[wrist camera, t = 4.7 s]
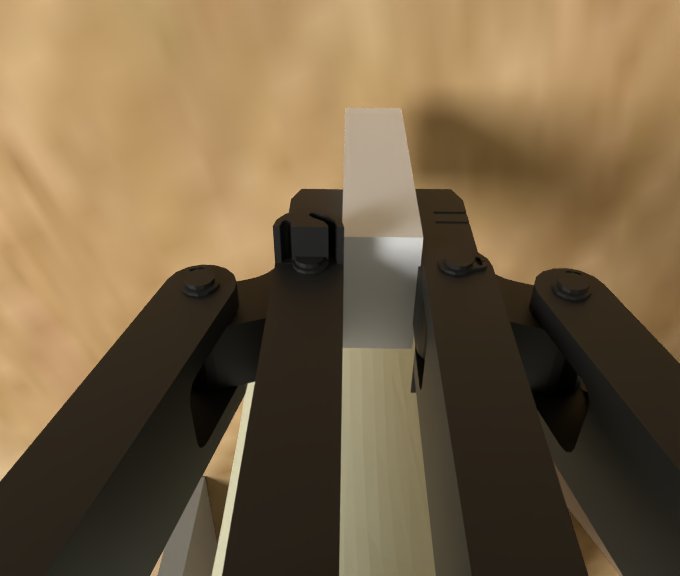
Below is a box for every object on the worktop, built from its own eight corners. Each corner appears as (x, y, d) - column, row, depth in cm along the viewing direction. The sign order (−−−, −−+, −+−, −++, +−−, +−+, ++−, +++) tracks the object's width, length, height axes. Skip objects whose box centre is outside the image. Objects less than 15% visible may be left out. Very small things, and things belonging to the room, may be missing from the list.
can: (278, 266, 22) (222, 607, 13) (515, 331, 24) (626, 678, 14) (223, 432, 28) (153, 763, 18) (420, 477, 29) (454, 803, 19)
